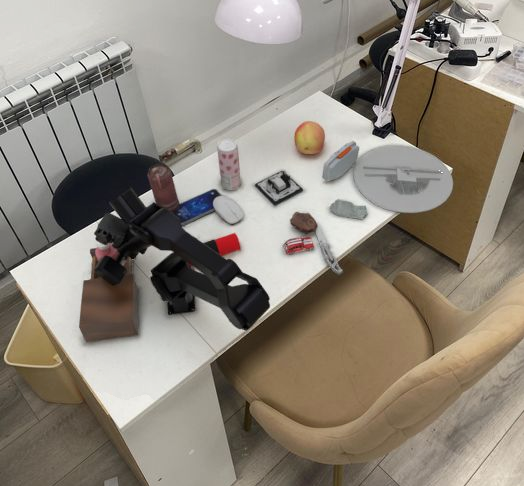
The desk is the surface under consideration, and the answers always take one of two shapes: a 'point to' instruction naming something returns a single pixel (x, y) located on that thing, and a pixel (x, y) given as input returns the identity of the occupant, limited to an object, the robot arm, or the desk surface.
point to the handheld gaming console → (340, 161)
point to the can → (163, 187)
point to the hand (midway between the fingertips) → (108, 256)
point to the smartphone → (197, 207)
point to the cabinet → (109, 309)
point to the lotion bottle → (105, 251)
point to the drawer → (127, 264)
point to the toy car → (298, 245)
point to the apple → (309, 137)
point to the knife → (327, 251)
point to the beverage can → (229, 164)
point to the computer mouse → (228, 209)
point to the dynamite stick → (224, 244)
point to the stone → (303, 222)
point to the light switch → (278, 187)
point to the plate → (403, 179)
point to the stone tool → (348, 209)
